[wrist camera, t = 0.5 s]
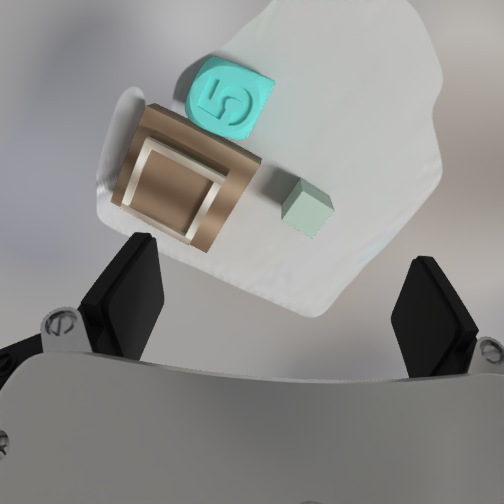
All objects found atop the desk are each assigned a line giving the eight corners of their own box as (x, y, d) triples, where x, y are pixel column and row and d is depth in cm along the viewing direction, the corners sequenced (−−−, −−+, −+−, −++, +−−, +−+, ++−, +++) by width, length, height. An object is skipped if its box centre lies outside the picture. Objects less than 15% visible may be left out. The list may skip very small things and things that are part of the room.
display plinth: (155, 103, 37) (133, 110, 31) (261, 158, 40) (257, 174, 35) (119, 194, 45) (98, 212, 40) (210, 242, 49) (200, 267, 43)
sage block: (300, 177, 42) (302, 190, 37) (329, 195, 43) (334, 210, 38) (281, 204, 44) (281, 220, 40) (309, 221, 45) (312, 238, 41)
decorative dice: (219, 57, 33) (205, 53, 27) (276, 81, 34) (274, 82, 28) (196, 109, 37) (177, 118, 31) (250, 132, 39) (242, 146, 32)
